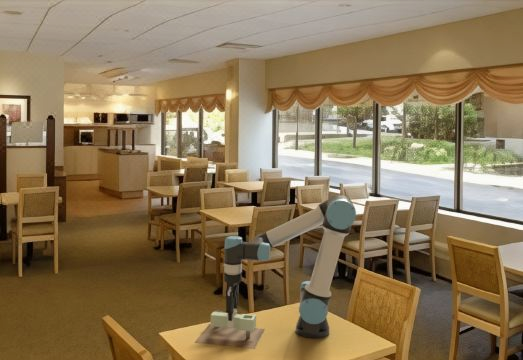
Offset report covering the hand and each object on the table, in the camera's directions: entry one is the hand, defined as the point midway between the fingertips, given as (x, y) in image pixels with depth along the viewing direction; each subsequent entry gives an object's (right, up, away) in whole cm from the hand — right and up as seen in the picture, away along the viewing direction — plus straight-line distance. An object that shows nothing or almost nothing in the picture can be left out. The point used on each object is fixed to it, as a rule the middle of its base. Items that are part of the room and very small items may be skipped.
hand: (232, 325), depth 232 cm
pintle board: (-1, -6, +2) cm, 7 cm away
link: (0, -1, 0) cm, 1 cm away
